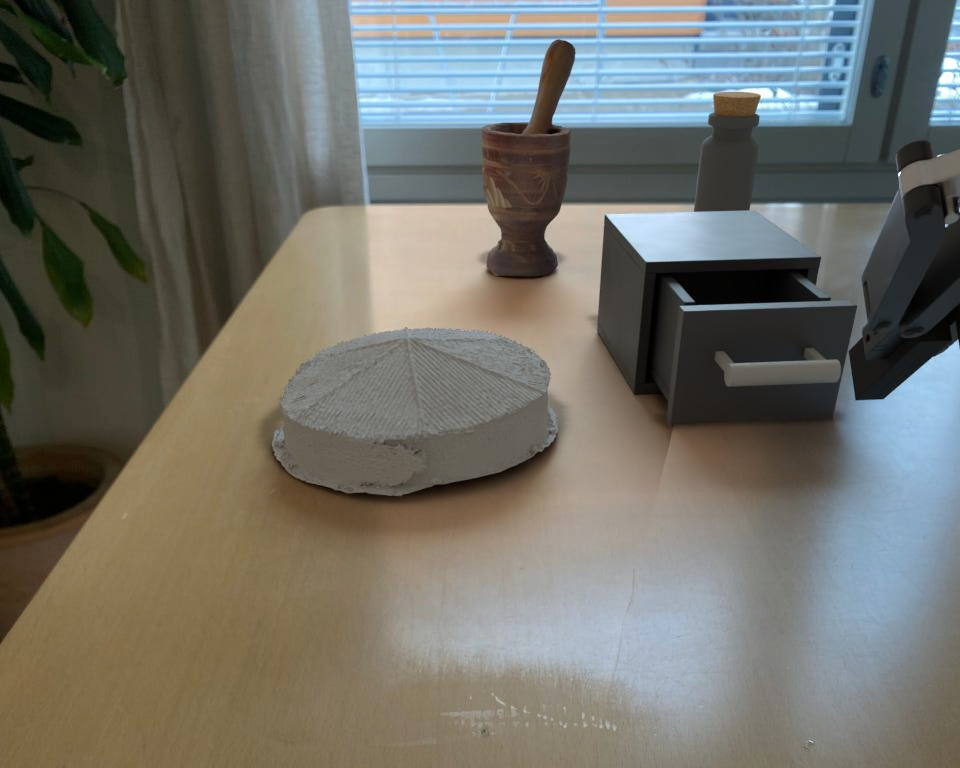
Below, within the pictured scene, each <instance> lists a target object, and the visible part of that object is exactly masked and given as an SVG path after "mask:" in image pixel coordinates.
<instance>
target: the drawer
mask: <svg viewBox="0 0 960 768" xmlns="http://www.w3.org/2000/svg"><path fill="white" fill-rule="evenodd" d="M655 274H656V278H655V288H654V298H653V308H652V318H651V328H650V338H649V348H648V358H647V370H648V371H649V373H650V375H651V376H652V378H653V379H654V381H655V382H656V384H657V385H658V387H659V388H660V390H661V391H662V393H661V394H663V397H664V398H665V399H666V401H667V411H666V418H665V419H666V422H667V423H668V425H669V427H671V428H672V427H675V426H676V425H678V426H679V425H680V426H681V425H699V424H701V425H702V424H703V425H704V424H725V423H727V424H728V423H747V422H748V423H749V422H750V423H751V422H771V421H774V422H775V421H792V420H794V421H797V420H798V421H799V420H819V419H833V417H834V414H835V409H836V405H837V402H838V401H837V400H838V396H839V392H840V388H841V387H840V386H841V382H842V377H843V374H844V369H845V364H846V361H847V355H848V352H849V346H850V343H851V337H852V332H853V328H854V325H855V324H854V323H855V319H856V314H857V309H858V305H857V304H855V303H854V302H853V301H852V300H848V299H847V300H832V297H831V296H830V295H828V294H827V293H826V292H825V291H823V290H822V289H821V288H820V287H818V286H817V285H816V286H815V285H814V284H813V283H812V282H810V281H809V280H808V279H806V278H805V277H804V276H803V275H801V274H800V273H799V272H797V271H796V270H795V269H784V270H751V271H719V272H686V273H655Z"/></svg>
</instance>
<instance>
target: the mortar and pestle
mask: <svg viewBox="0 0 960 768" xmlns="http://www.w3.org/2000/svg"><path fill="white" fill-rule="evenodd" d="M576 55H577V54H576V48H575V46H574V45H573V44H572V43H570V42H569V41H567V40H565V39H564V40H563V39H560V38H559V39H555V40H553V41H551V43H550V45H549V47H548V48H547V49H546V52H545V54H544V58H543V61H542V62H543V63H542V66H541V71H540V75H539V82H538V88H537V94H536V97H535V102H534V106H533V110H532V113H531V116H530V120H529V122H528V121H520V122H519V121H518V122H516V121H515V122H498V123H497V122H496V123H491V124H486V125H484V126H482V127H481V135H480V137H481V138H480V139H481V157H482V160H481V180H482V189H483V195H484V198H485V201H486V204H487V209H488V213H489V214H490V216H491V217H492V219H493V220H494V222H495V223H496V225H497V226H498V228H499V229H500V232H501V233H500V235H501V237H500V239H499V240H498V241H497V244H496V245H494V246H493V247H492V248H491V249H490V250H489V251H488V253H487V257H486V264H485V265H486V266H485V267H486V268H487V269H488V271H490V272H491V273H492V274H493V276H494V277H541V276H545V275H548V274H551V273H553V272H554V271H556V270H557V268H558V266H559V262H558V256H557V253H555V251H554V249H553V247H551V246H550V245H549V244H548V242H547V241H546V238H545V236H546V235H545V234H546V230H547V227H548V226H549V225H550V223H551V222H553V220H555V218H556V217H557V216H558V215H559V214H560V212H561V208H562V204H563V201H564V198H565V195H566V190H567V186H568V181H569V166H570V156H571V139H572V130H571V129H569V128H567V127H563V126H562V125H556V124H553V118H554V116H555V113H556V110H557V108H558V105H559V102H560V100H561V98H562V96H563V93H564V90H565V88H566V86H567V83H568V82H569V79H570V76H571V73H572V71H573V68H574V67H573V66H574V64H575V61H576Z"/></svg>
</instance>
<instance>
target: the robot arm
mask: <svg viewBox="0 0 960 768" xmlns="http://www.w3.org/2000/svg"><path fill="white" fill-rule="evenodd" d="M934 151H935V150H934V146H933V144H932V142H931V141H928V140H916V141H912V142H909V143H907V144H905V145H904V146H902V147H900V149H899V150H898V151H897V152H896V154H895V165H896V171H897V178H898V184H899V186H898V189H897V191H896V193H895V195H894V199H893V201H892V203H891V205H890V208H889V210H888V213H887V215H886V217H885V220H884V222H883V225H882V227H881V229H880V231H879V234H878V237H877V238H876V242H875V243H874V245H873V248H872V251H871V253H870V256H869V257H868V261H867V262H866V265H865V268H864V270H863V272H862V275H861V286H862V293H863V301H864V305H865V315H866V320H867V323H866V324H865V325H864V326H863V327H862V330H861V335H862V337H861V338H859V339H858V341H857V342H856V343H855V344H854V345H853V346H852V347H851V348H850V349H848V356H849V365H850V372H851V379H852V386H853V393H854V399H855V400H854V401H856V402H857V401H878V400H880V401H881V400H885V399H886V398H887V397H888V396H889V395H890V394H892V393H893V392H894V391H895V390H896V389H897V388H898V387H900V386H901V385H903V383H904V382H905V381H907V380H908V379H909V378H910V377H911V376H913V375H914V373H916V372H918V370H920V369H921V368H922V367H923V366H924V365H925V364H927V363H928V362H929V361H930V360H931V359H932V358H935V357H937V356H938V355H939V356H940V355H941V354H942V353H944V352H945V351H946V350H948V349H949V348H950V347H951V346H953V345H954V344H955V343H956V342H957V341H958V347H959V349H960V206H959V205H960V148H959V149H956V150H953V151H950V152H947V153H941V154H938V155H936V156H935V152H934Z"/></svg>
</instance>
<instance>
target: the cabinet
mask: <svg viewBox="0 0 960 768" xmlns="http://www.w3.org/2000/svg"><path fill="white" fill-rule="evenodd" d="M603 224H604V225H603V235H602V248H601V249H602V251H601V264H600V281H599V294H598V310H597V324H596V325H597V326H596V327H597V328H596V331H597V333H598V335H599V337H600V338H601V340H602V342H603V343H604V345H605V347H606V349H607V351H608V352H609V354H610V355H611V357H612V359H613V360H614V362H615V363H616V365H617V367H618V369H619V371H620V372H621V374H622V376H623V378H624V379H625V381H626V383H627V384H628V386H629V388H630V389H631V391H632V393H633V394H634V395H641V394H663V393H662V391H661V390H660V388H659V387H658V385H657V384H656V382H655V381H654V379H653V378H652V376H651V375H650V373H649V371H648V370H647V358H648V348H649V338H650V328H651V318H652V308H653V298H654V288H655V278H656V274H655V273H686V272H719V271H751V270H784V269H795V270H796V271H797V272H799V273H800V274H801V275H803V276H804V277H805V278H806V279H808V280H809V281H810V282H812V283H813V284H814V285H815V286H817V283H818V282H817V280H818V276H819V271H820V266H821V262H822V261H821V260H822V256H821V255H819V254H818V253H817V252H815V251H813V250H812V249H811V248H809V247H808V246H806V245H805V244H804V243H802V242H801V241H799V240H798V239H796V238H795V237H794V236H792V235H791V234H789V233H788V232H786V231H785V230H783V229H782V228H781V227H779V226H778V225H776V224H775V223H774V222H772V221H771V220H769V219H768V218H766V217H765V216H764V215H762V214H761V213H759V212H758V211H757V210H755V209H750V210H748V211H709V212H694V211H675V212H671V211H669V212H637V213H636V212H635V213H634V212H633V213H604V219H603Z"/></svg>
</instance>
